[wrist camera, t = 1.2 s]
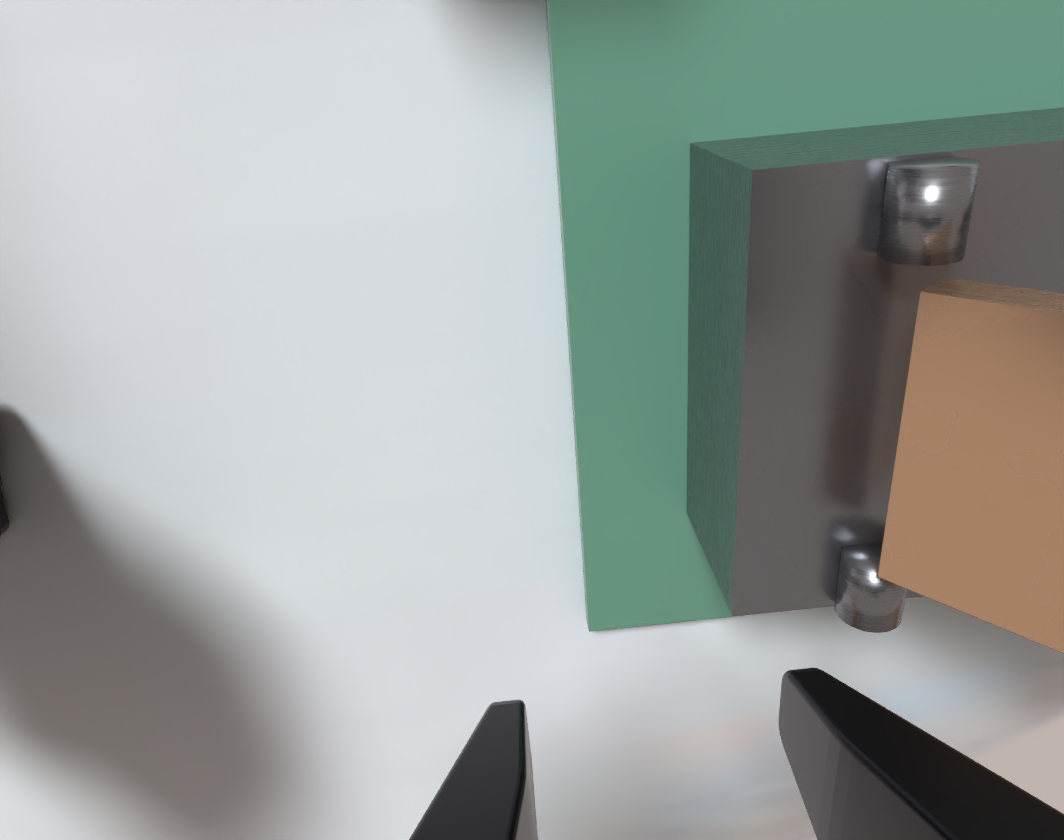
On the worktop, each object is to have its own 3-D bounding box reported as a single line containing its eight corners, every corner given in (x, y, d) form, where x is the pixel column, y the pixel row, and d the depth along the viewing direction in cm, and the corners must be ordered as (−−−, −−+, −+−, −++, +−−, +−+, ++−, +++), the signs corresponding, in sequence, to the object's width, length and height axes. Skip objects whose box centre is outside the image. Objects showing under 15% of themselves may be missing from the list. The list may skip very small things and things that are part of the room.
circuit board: (586, 618, 24) (588, 631, 23) (542, -49, 16) (544, -52, 15) (1207, 552, 24) (1224, 564, 24) (1472, -133, 16) (1506, -139, 16)
